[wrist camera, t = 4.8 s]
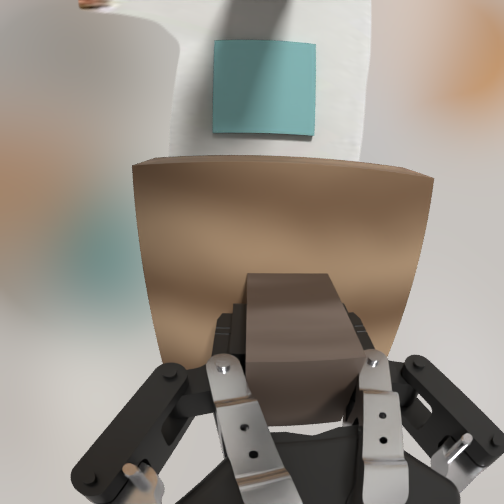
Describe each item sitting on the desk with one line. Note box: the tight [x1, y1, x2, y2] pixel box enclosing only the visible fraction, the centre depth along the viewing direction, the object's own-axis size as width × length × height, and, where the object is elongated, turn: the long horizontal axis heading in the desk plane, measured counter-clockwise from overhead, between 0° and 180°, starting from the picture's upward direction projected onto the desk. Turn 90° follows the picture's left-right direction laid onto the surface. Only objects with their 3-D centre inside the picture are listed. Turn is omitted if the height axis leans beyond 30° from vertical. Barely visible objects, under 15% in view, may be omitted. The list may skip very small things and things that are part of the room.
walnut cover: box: [132, 155, 434, 426], centre depth 14 cm, size 15×15×10 cm
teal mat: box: [213, 40, 316, 136], centre depth 37 cm, size 15×15×1 cm
